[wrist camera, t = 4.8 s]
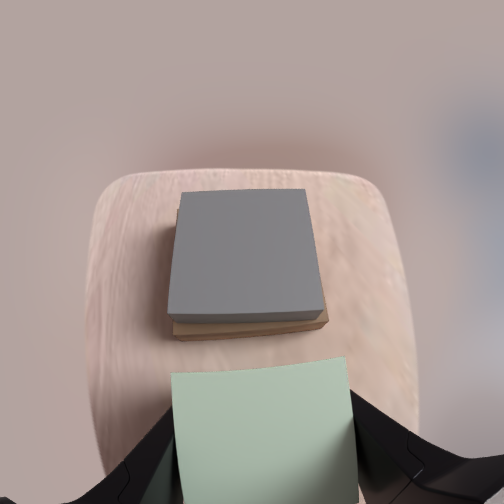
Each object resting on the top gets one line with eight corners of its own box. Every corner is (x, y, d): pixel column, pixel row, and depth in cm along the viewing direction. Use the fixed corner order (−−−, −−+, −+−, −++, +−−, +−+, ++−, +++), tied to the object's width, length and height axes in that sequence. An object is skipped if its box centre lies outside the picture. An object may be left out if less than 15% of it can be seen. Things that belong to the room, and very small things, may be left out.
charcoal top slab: (316, 319, 15) (324, 309, 13) (177, 323, 15) (167, 313, 13) (300, 207, 19) (305, 189, 17) (187, 210, 19) (181, 192, 17)
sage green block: (310, 455, 13) (359, 502, 5) (219, 464, 12) (188, 521, 5) (301, 373, 15) (344, 355, 8) (211, 382, 15) (170, 372, 8)
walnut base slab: (319, 330, 17) (328, 320, 15) (183, 342, 17) (173, 334, 15) (297, 218, 22) (301, 198, 19) (184, 228, 21) (177, 208, 19)
